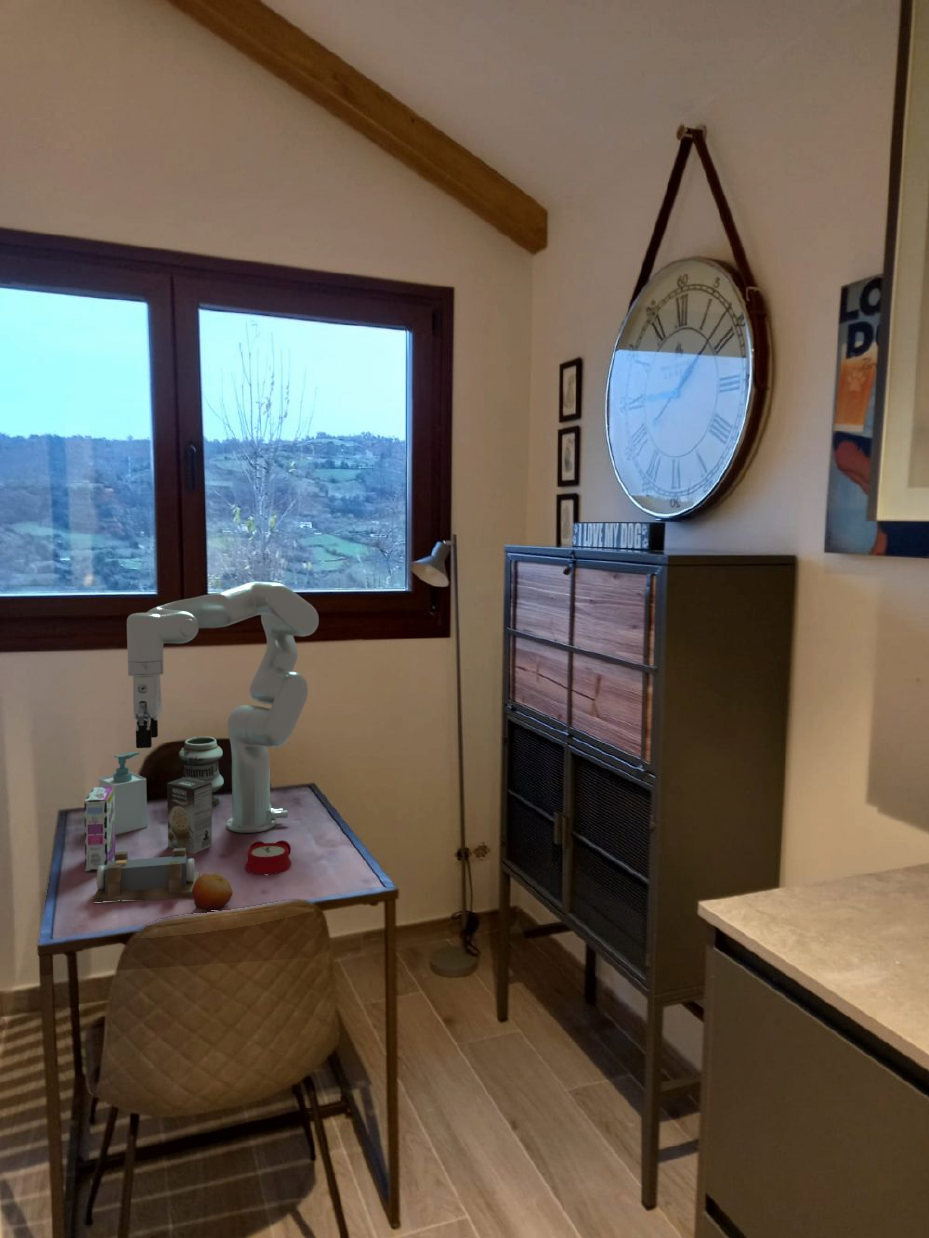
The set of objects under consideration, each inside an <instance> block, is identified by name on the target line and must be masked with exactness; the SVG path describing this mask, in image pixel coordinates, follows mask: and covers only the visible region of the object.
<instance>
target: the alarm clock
mask: <svg viewBox="0 0 929 1238" xmlns="http://www.w3.org/2000/svg"><path fill="white" fill-rule="evenodd" d="M291 852H292V848H291V844H290V843H289V842H288V841H286V840H278V841H276V842H264V841H261V840H256V841H255V842H253V843H252V844H250V846H249V848H248V850H247V859H246V862H245V864H244V869H245V870H246V872H249V873H251V874H255V875H264V874H269V875H274V874H278V873H282V872H284V871H286V870H288V869H290V868H291V866H292V860H291V859H290V855H291ZM289 867H290V868H289Z"/></svg>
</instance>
